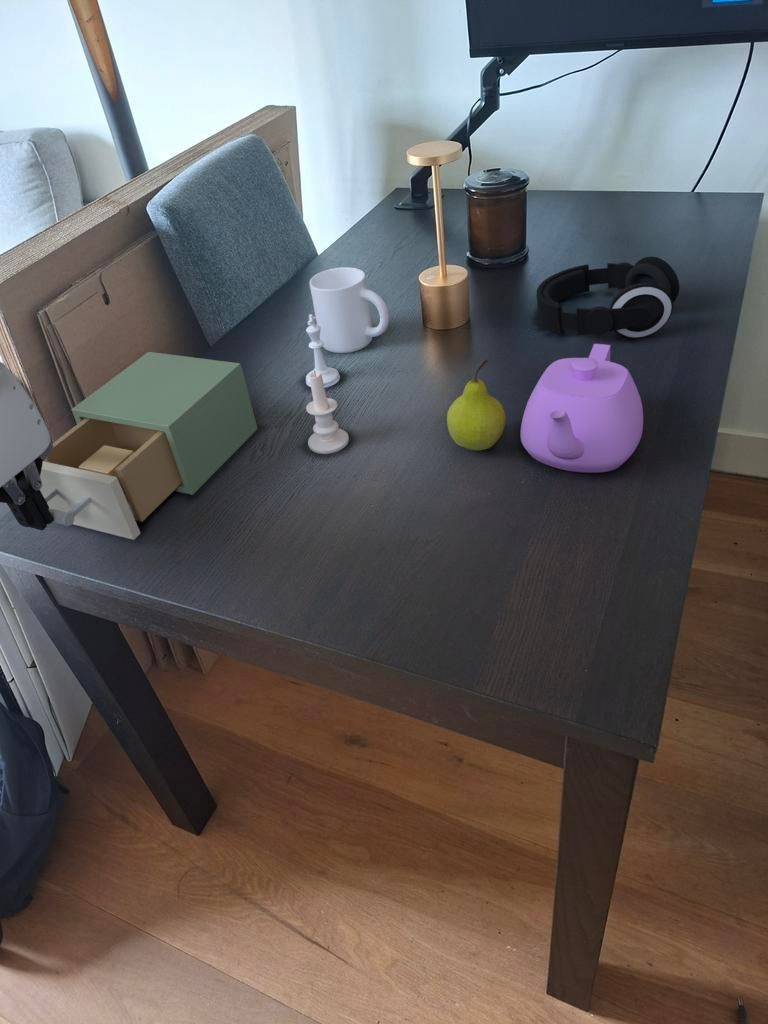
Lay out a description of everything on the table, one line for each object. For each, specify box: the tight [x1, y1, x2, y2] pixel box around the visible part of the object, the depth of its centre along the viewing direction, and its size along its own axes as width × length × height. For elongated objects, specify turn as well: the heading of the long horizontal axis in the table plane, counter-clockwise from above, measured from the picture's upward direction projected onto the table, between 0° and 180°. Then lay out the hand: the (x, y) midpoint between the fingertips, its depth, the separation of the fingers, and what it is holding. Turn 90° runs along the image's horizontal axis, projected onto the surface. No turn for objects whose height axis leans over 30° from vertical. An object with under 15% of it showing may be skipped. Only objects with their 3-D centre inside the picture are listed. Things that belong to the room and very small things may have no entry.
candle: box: [305, 369, 350, 455], centre depth 93 cm, size 5×5×10 cm
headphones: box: [535, 255, 680, 339], centre depth 112 cm, size 18×8×20 cm
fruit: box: [446, 359, 507, 452], centre depth 88 cm, size 7×7×12 cm
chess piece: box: [305, 314, 341, 389], centre depth 106 cm, size 5×5×10 cm
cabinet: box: [71, 351, 259, 496], centre depth 96 cm, size 15×15×10 cm
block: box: [79, 445, 134, 499], centre depth 89 cm, size 4×4×4 cm
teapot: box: [519, 343, 644, 473], centre depth 86 cm, size 13×20×11 cm
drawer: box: [40, 418, 183, 541], centre depth 87 cm, size 18×14×8 cm
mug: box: [309, 266, 390, 354], centre depth 114 cm, size 12×8×10 cm
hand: (38, 523), depth 80 cm, fingers closed
